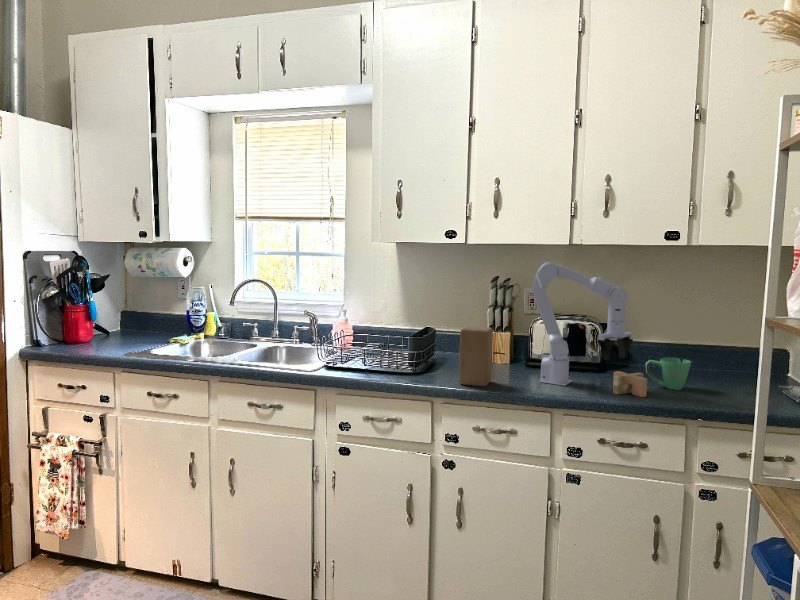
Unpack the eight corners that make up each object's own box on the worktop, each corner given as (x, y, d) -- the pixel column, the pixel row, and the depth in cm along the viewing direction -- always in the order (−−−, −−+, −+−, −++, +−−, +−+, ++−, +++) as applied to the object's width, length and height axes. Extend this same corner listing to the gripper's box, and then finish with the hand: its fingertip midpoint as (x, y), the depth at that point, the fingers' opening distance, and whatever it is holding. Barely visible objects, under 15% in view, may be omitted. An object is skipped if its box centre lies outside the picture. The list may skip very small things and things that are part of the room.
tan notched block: (617, 394, 190) (618, 376, 190) (613, 393, 192) (613, 375, 191) (642, 390, 196) (643, 373, 195) (637, 389, 197) (638, 372, 197)
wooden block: (458, 384, 200) (459, 329, 198) (465, 378, 210) (466, 325, 208) (486, 387, 197) (487, 330, 195) (491, 381, 206) (493, 327, 204)
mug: (686, 386, 203) (688, 358, 202) (691, 392, 194) (693, 364, 193) (642, 382, 208) (644, 355, 207) (645, 389, 198) (647, 360, 197)
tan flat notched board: (646, 396, 188) (647, 378, 188) (641, 397, 187) (642, 379, 187) (617, 388, 199) (618, 371, 199) (612, 388, 198) (613, 371, 197)
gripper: (610, 323, 192) (608, 362, 193) (640, 321, 199) (638, 359, 200) (594, 321, 198) (592, 359, 200) (624, 319, 205) (622, 356, 206)
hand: (614, 359), depth 200 cm, fingers open, 7 cm apart
